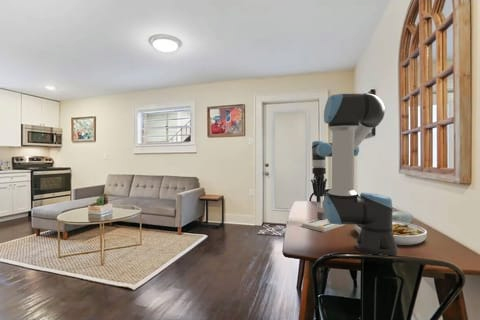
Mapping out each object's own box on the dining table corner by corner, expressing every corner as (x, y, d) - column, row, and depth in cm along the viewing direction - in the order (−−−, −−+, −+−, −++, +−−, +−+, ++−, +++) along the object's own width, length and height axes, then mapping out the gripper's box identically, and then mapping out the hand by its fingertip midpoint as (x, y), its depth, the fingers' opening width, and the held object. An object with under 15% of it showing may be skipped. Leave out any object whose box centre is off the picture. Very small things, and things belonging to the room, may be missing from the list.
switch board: (323, 231, 133) (323, 227, 133) (301, 226, 144) (301, 222, 144) (345, 224, 147) (345, 221, 147) (324, 220, 158) (324, 216, 158)
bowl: (412, 230, 135) (412, 215, 135) (439, 250, 106) (439, 231, 106) (351, 227, 143) (350, 213, 143) (361, 244, 114) (360, 227, 114)
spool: (406, 217, 149) (407, 204, 145) (417, 229, 141) (417, 215, 136) (382, 222, 151) (382, 209, 146) (391, 234, 142) (391, 221, 138)
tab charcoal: (322, 219, 150) (322, 213, 150) (317, 218, 152) (317, 212, 152) (326, 218, 152) (326, 212, 152) (321, 217, 155) (321, 211, 155)
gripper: (319, 167, 158) (320, 205, 157) (306, 167, 150) (307, 207, 149) (330, 167, 152) (331, 207, 151) (317, 167, 144) (318, 209, 143)
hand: (319, 207), depth 150 cm, fingers closed
